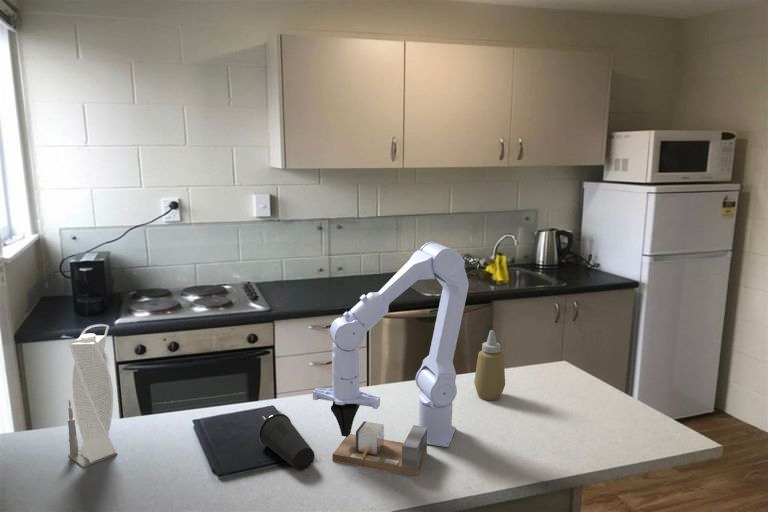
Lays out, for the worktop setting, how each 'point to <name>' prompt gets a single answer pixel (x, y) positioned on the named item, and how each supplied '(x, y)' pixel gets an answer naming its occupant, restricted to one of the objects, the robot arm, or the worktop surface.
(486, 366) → the squeeze bottle
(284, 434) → the drinking cup
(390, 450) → the gauge board
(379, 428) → the gauge carriage
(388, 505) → the worktop surface
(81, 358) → the skyscraper
